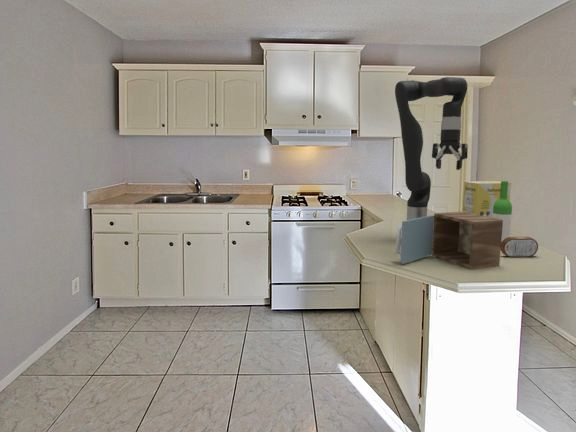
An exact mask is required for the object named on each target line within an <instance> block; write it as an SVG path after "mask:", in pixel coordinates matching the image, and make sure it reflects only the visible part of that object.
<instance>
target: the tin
mask: <svg viewBox="0 0 576 432" xmlns="http://www.w3.org/2000/svg"><path fill="white" fill-rule="evenodd" d="M538 250H539V243H538V242H537V240H536V239H534V238H533V237H531V236H510V237H507V238H505V239H504V240H503V241H502V243H501V251H500V253H502V254H503V255H504V256H507V257H508V258H531V257H533V256H535V255H536V253H537V252H538Z"/></svg>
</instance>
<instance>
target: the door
mask: <svg viewBox="0 0 576 432" xmlns="http://www.w3.org/2000/svg"><path fill="white" fill-rule="evenodd" d="M433 227H434V214H433V215H427V216H426V217H421V218H416V219H411V220H407V219H405V220H403V221H401V225H396V236H395V238H396V239H395V254H396V255H397V254H398V255H400V261H399V262H400V264H406V263H409V262H410V263H411V262H412V261H415V260H419V259H423V258H425V257H429V256H432V245H433Z"/></svg>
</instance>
